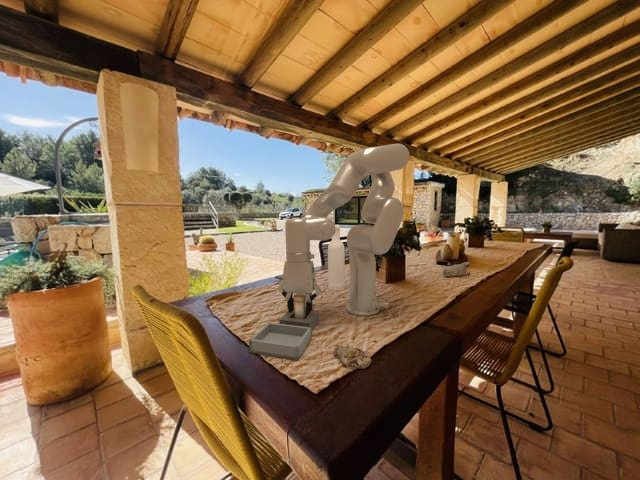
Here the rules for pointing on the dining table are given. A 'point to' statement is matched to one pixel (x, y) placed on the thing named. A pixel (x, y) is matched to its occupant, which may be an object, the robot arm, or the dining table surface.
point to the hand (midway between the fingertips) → (299, 311)
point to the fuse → (299, 306)
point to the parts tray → (281, 340)
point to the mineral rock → (352, 357)
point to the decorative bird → (456, 270)
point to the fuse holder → (308, 322)
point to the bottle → (336, 262)
